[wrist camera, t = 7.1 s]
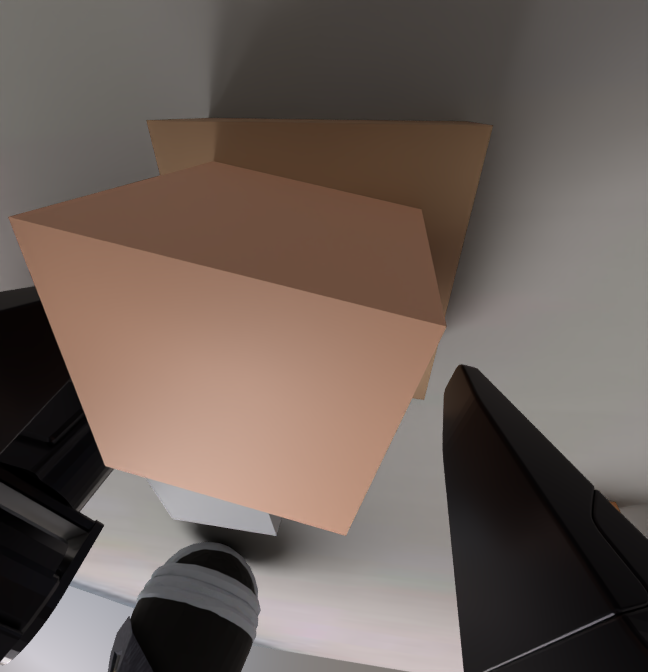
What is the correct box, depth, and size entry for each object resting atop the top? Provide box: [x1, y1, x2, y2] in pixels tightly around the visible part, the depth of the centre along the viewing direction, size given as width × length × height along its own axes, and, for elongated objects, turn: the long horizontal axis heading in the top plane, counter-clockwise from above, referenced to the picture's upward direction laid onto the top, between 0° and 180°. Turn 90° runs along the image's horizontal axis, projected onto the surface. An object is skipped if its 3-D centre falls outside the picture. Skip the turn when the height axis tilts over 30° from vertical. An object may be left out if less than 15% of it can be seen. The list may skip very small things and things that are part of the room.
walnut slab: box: [146, 118, 493, 400], centre depth 13 cm, size 9×9×4 cm
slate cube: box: [146, 478, 282, 536], centre depth 18 cm, size 6×6×6 cm
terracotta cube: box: [8, 161, 446, 536], centre depth 8 cm, size 6×6×6 cm
